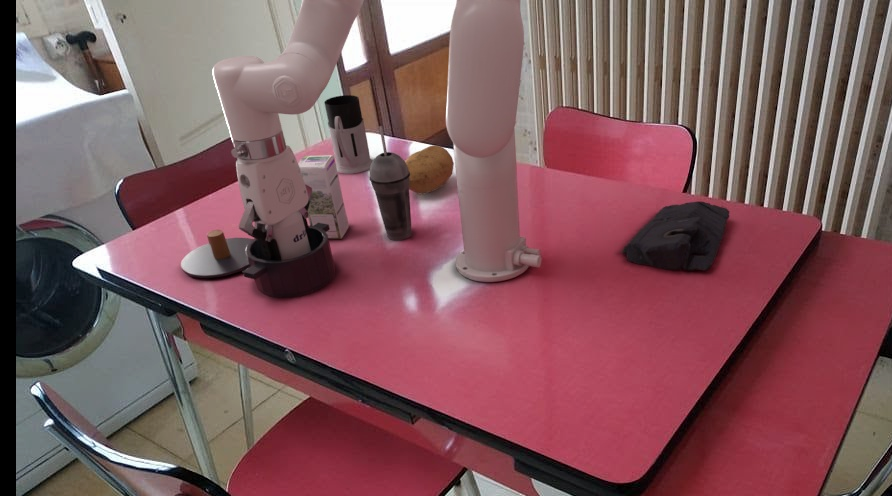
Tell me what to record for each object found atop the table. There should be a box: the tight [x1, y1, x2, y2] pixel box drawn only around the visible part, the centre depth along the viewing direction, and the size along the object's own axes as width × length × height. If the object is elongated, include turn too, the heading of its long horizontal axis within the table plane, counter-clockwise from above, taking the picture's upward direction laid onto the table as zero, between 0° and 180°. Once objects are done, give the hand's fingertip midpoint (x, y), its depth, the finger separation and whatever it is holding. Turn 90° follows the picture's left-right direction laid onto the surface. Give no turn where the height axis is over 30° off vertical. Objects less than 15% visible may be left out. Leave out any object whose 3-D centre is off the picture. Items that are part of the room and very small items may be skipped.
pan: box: [242, 223, 336, 299], centre depth 116 cm, size 13×19×7 cm
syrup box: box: [297, 154, 350, 240], centre depth 127 cm, size 6×6×14 cm
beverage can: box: [262, 211, 311, 260], centre depth 114 cm, size 7×7×12 cm
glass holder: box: [324, 94, 373, 175], centre depth 153 cm, size 9×14×15 cm, turn 1°
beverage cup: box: [369, 125, 412, 241], centre depth 123 cm, size 7×7×20 cm
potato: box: [404, 145, 455, 195], centre depth 143 cm, size 10×14×8 cm
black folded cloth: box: [621, 200, 730, 272], centre depth 118 cm, size 15×22×5 cm
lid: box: [180, 229, 254, 279], centre depth 124 cm, size 14×14×6 cm
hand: (288, 249), depth 115 cm, fingers closed on beverage can, 6 cm apart
